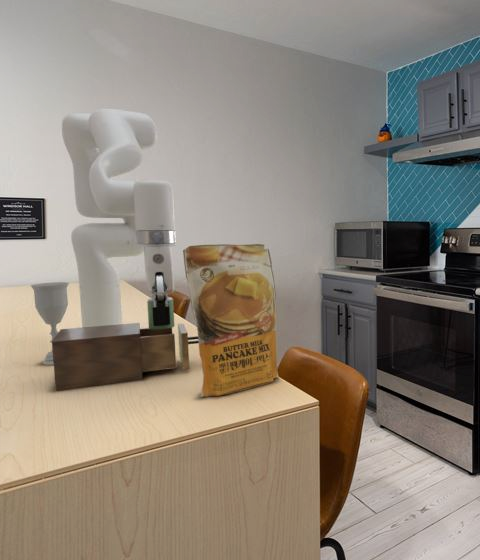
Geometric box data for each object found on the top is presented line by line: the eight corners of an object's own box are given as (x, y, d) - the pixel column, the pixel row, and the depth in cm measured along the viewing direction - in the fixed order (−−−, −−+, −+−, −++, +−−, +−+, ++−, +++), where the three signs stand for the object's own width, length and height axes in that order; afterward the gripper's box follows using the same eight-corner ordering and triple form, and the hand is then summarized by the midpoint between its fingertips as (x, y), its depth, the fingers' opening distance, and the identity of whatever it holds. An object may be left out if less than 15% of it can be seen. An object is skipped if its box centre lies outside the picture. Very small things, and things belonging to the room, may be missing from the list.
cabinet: (142, 364, 115) (139, 322, 114) (142, 379, 104) (139, 333, 103) (64, 373, 108) (60, 329, 107) (55, 390, 97) (51, 341, 96)
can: (148, 326, 111) (146, 297, 111) (173, 324, 114) (172, 296, 113) (149, 330, 107) (147, 301, 106) (175, 328, 109) (173, 299, 109)
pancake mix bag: (182, 394, 95) (174, 245, 92) (272, 372, 109) (268, 242, 106) (199, 402, 91) (191, 246, 88) (290, 378, 105) (286, 243, 102)
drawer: (207, 353, 121) (205, 321, 120) (213, 365, 111) (211, 330, 110) (118, 363, 112) (115, 329, 111) (116, 377, 102) (113, 339, 101)
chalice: (54, 366, 113) (48, 286, 111) (29, 365, 114) (22, 285, 112) (82, 358, 120) (76, 282, 118) (58, 356, 121) (52, 281, 119)
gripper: (178, 240, 103) (183, 328, 105) (173, 237, 117) (177, 315, 119) (136, 240, 99) (142, 332, 101) (136, 238, 114) (141, 318, 116)
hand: (161, 322), depth 110 cm, fingers closed on can, 5 cm apart
